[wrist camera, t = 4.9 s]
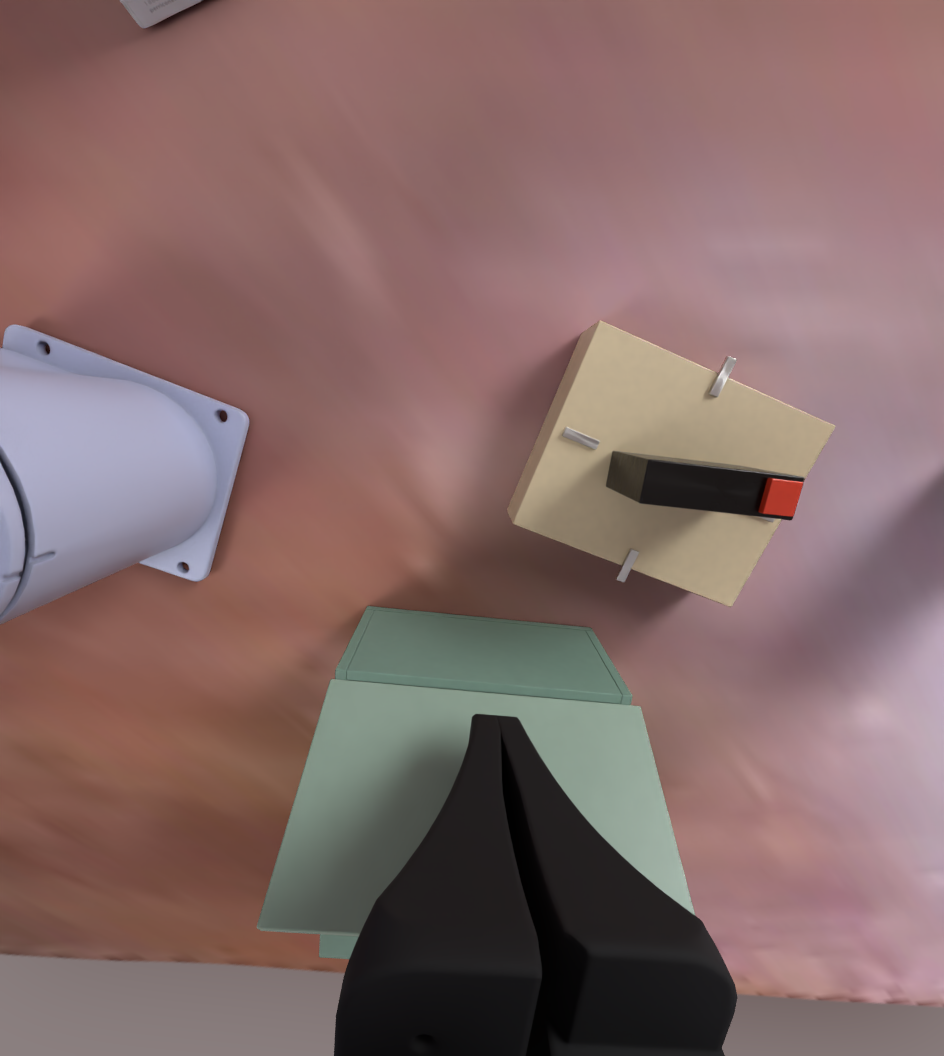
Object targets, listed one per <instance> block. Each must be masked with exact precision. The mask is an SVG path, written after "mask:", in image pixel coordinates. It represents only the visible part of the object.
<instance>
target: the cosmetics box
mask: <svg viewBox="0 0 944 1056" xmlns="http://www.w3.org/2000/svg"><path fill="white" fill-rule="evenodd" d="M120 1H121V3H122V4H123V5H124V6H125V8H126V9H127V10H128V12H129V13H130V14H131V16H132V17H133V18H134V20H135V21H136V22H137V24H138V25H139V26H140V27H142V28H147V27H150V26H152V25H155V24H157V23H158V22H160V21H162V20H164V19H166V18H168V17H170V16H172V15H174V14H176V13H178V12H180V11H182V10H184V9H187V8H189V7H191V6H193V5H195V4H197V3H199V2H201V1H203V0H120Z"/></svg>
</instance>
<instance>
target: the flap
mask: <svg viewBox="0 0 944 1056" xmlns="http://www.w3.org/2000/svg"><path fill="white" fill-rule="evenodd" d="M475 714H487V715H499V716H511V717H517V718H518V719H519V720H520V722H521V724H522V725H523V727H524V729H525V731H526V733H527V735H528V736H529V738H530V740H531V742H532V743H533V745H534V747H535V748H536V750H537V752H538V753H539V755H540V757H541V758H542V760H543V761H544V763H545V764H546V766H547V767H548V769H549V770H550V772H551V773H552V775H553V776H554V778H555V779H556V781H557V782H558V784H559V785H560V786H561V788H562V789H563V790H564V792H565V793H566V794H567V796H568V797H569V798H570V800H571V801H572V802H573V804H574V805H575V806H576V807H577V809H578V810H579V811H580V812H581V813H582V815H583V816H584V817H585V818H586V819H587V820H588V822H589V823H590V824H591V825H592V826H593V827H594V828H595V829H596V830H597V832H598V833H599V834H600V835H601V836H602V837H603V838H604V839H605V840H606V841H607V842H608V843H609V844H610V845H611V846H612V847H613V848H614V849H615V850H616V851H617V852H618V853H619V854H620V855H621V856H622V857H624V858H625V859H626V860H627V861H628V862H629V863H630V864H631V865H632V866H633V867H634V868H636V869H637V870H638V871H639V872H640V873H641V874H643V875H644V876H645V877H646V878H647V879H648V880H650V881H651V882H652V883H653V884H654V885H655V886H657V887H658V888H659V889H660V890H662V891H663V892H664V893H666V894H667V895H668V896H670V897H671V898H672V899H674V900H675V901H676V902H678V903H679V904H680V905H682V906H683V907H684V908H686V909H687V910H688V911H690V912H691V913H692V914H694V915H695V913H694V909H693V905H692V901H691V897H690V894H689V890H688V886H687V882H686V878H685V875H684V871H683V867H682V863H681V859H680V855H679V852H678V848H677V844H676V840H675V836H674V833H673V829H672V825H671V821H670V817H669V813H668V810H667V806H666V802H665V798H664V794H663V791H662V787H661V783H660V779H659V775H658V771H657V768H656V764H655V760H654V756H653V752H652V749H651V745H650V741H649V737H648V733H647V730H646V726H645V722H644V718H643V714H642V710H641V707H640V706H632V705H621V704H610V703H598V702H587V701H576V700H564V699H553V698H541V697H530V696H519V695H507V694H496V693H485V692H473V691H462V690H451V689H439V688H428V687H416V686H405V685H394V684H382V683H371V682H360V681H348V680H337V679H331V680H330V683H329V686H328V689H327V693H326V696H325V700H324V703H323V706H322V710H321V713H320V716H319V720H318V723H317V726H316V730H315V733H314V736H313V740H312V743H311V746H310V750H309V753H308V756H307V760H306V763H305V766H304V770H303V773H302V777H301V780H300V783H299V787H298V790H297V793H296V797H295V800H294V803H293V807H292V810H291V813H290V817H289V820H288V823H287V827H286V830H285V833H284V837H283V840H282V843H281V847H280V850H279V853H278V857H277V860H276V864H275V867H274V870H273V874H272V877H271V880H270V884H269V887H268V890H267V894H266V897H265V900H264V904H263V907H262V910H261V914H260V917H259V920H258V924H257V928H258V929H259V930H261V931H275V932H291V933H308V934H325V935H341V936H358V937H359V935H360V932H361V930H362V928H363V926H364V924H365V922H366V920H367V918H368V916H369V914H370V912H371V909H372V907H373V905H374V903H375V901H376V900H377V898H378V897H379V896H380V895H381V894H382V892H383V891H384V890H385V889H386V888H387V887H388V885H389V884H390V883H391V882H392V881H393V880H394V878H395V877H396V876H397V875H398V874H399V872H400V871H401V870H402V868H403V867H404V866H405V864H406V863H407V862H408V860H409V859H410V857H411V856H412V855H413V853H414V852H415V850H416V849H417V848H418V846H419V845H420V843H421V842H422V840H423V839H424V837H425V836H426V834H427V833H428V831H429V829H430V828H431V826H432V824H433V823H434V821H435V819H436V818H437V816H438V814H439V812H440V810H441V809H442V807H443V805H444V803H445V801H446V799H447V797H448V795H449V793H450V791H451V789H452V787H453V784H454V782H455V779H456V777H457V775H458V772H459V770H460V768H461V765H462V762H463V759H464V756H465V753H466V750H467V747H468V743H469V735H470V727H471V720H472V716H474V715H475Z"/></svg>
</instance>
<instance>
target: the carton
mask: <svg viewBox="0 0 944 1056" xmlns="http://www.w3.org/2000/svg"><path fill="white" fill-rule="evenodd" d="M335 679H337V680H348V681H360V682H371V683H382V684H394V685H405V686H416V687H428V688H439V689H451V690H462V691H473V692H485V693H496V694H507V695H519V696H530V697H541V698H553V699H564V700H576V701H587V702H598V703H610V704H621V705H631V701H632V694H631V693H630V691H629V689H628V688H627V686H626V684H625V683H624V681H623V679H622V678H621V676H620V674H619V673H618V671H617V670H616V668H615V666H614V665H613V663H612V661H611V660H610V658H609V656H608V655H607V653H606V651H605V650H604V648H603V647H602V645H601V643H600V642H599V640H598V638H597V637H596V635H595V633H594V632H593V630H592V628H590V627H580V626H570V625H559V624H549V623H539V622H528V621H518V620H507V619H497V618H487V617H476V616H466V615H456V614H445V613H435V612H424V611H414V610H404V609H393V608H383V607H372V606H367V608H366V610H365V612H364V614H363V616H362V618H361V620H360V622H359V624H358V626H357V628H356V630H355V632H354V634H353V636H352V638H351V640H350V642H349V644H348V646H347V648H346V650H345V652H344V654H343V656H342V658H341V660H340V662H339V664H338V666H337V668H336V670H335ZM357 939H358V936H341V935H325V934H320V948H319V957H324V958H341V959H350V956H351V954H352V951H353V949H354V946H355V944H356V941H357Z"/></svg>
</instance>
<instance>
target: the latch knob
mask: <svg viewBox="0 0 944 1056" xmlns="http://www.w3.org/2000/svg"><path fill="white" fill-rule="evenodd" d="M803 482H804V477H802V476H796V475H791V474H785V473H779V472H774V471H768V470H762V469H757V468H751V467H745V466H740V465H732V464H723V463H715V462H706V461H698V460H689V459H680V458H672V457H663V456H655V455H646V454H638V453H629V452H620V451H613V452H612V456H611V461H610V466H609V471H608V477H607V482H606V487H607V488H610V489H612V490H614V491H616V492H618V493H620V494H622V495H624V496H626V497H628V498H630V499H632V500H634V501H636V502H638V503H640V504H648V505H657V506H666V507H675V508H684V509H693V510H702V511H711V512H720V513H729V514H738V515H747V516H757V517H766V518H775V519H784V520H792V519H793V516H794V513H795V509H796V506H797V503H798V499H799V496H800V493H801V489H802V486H803Z"/></svg>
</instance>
